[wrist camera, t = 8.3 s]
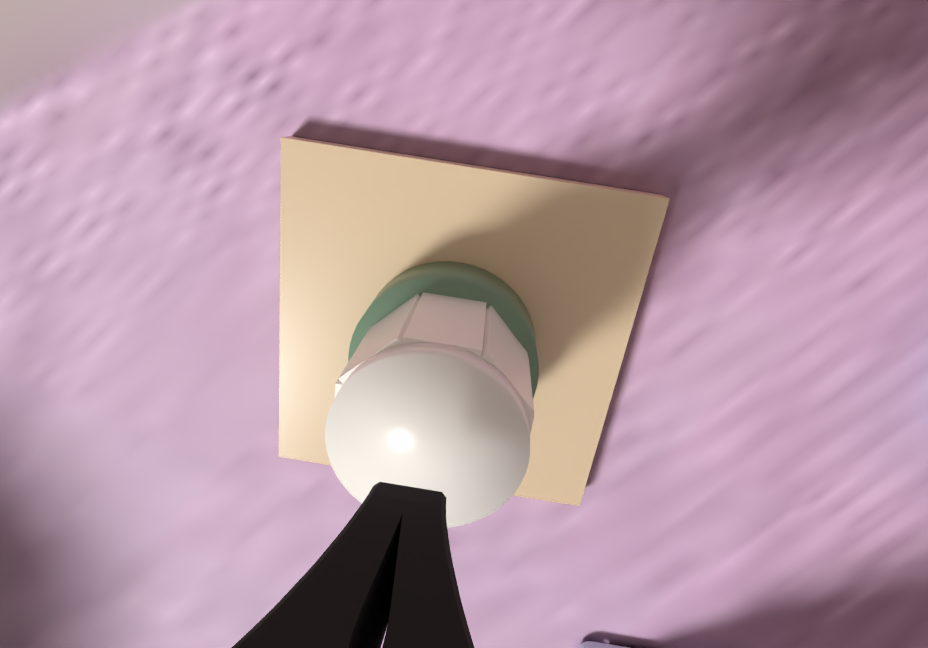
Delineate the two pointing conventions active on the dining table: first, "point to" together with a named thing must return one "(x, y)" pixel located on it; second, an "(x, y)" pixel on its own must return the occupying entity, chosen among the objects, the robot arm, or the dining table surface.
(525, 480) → the beige square tray
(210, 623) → the dining table surface
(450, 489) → the cap
